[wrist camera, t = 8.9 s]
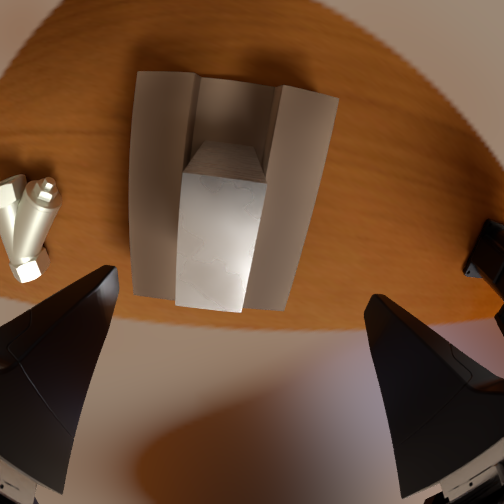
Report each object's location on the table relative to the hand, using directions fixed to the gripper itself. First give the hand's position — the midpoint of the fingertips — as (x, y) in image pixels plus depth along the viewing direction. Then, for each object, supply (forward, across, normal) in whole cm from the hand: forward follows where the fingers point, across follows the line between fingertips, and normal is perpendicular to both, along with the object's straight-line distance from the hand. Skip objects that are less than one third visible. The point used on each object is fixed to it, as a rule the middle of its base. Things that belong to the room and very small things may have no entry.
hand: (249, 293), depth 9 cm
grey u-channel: (+11, +1, 0) cm, 11 cm away
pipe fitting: (+11, +16, +4) cm, 20 cm away
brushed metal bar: (+10, +1, 0) cm, 10 cm away
